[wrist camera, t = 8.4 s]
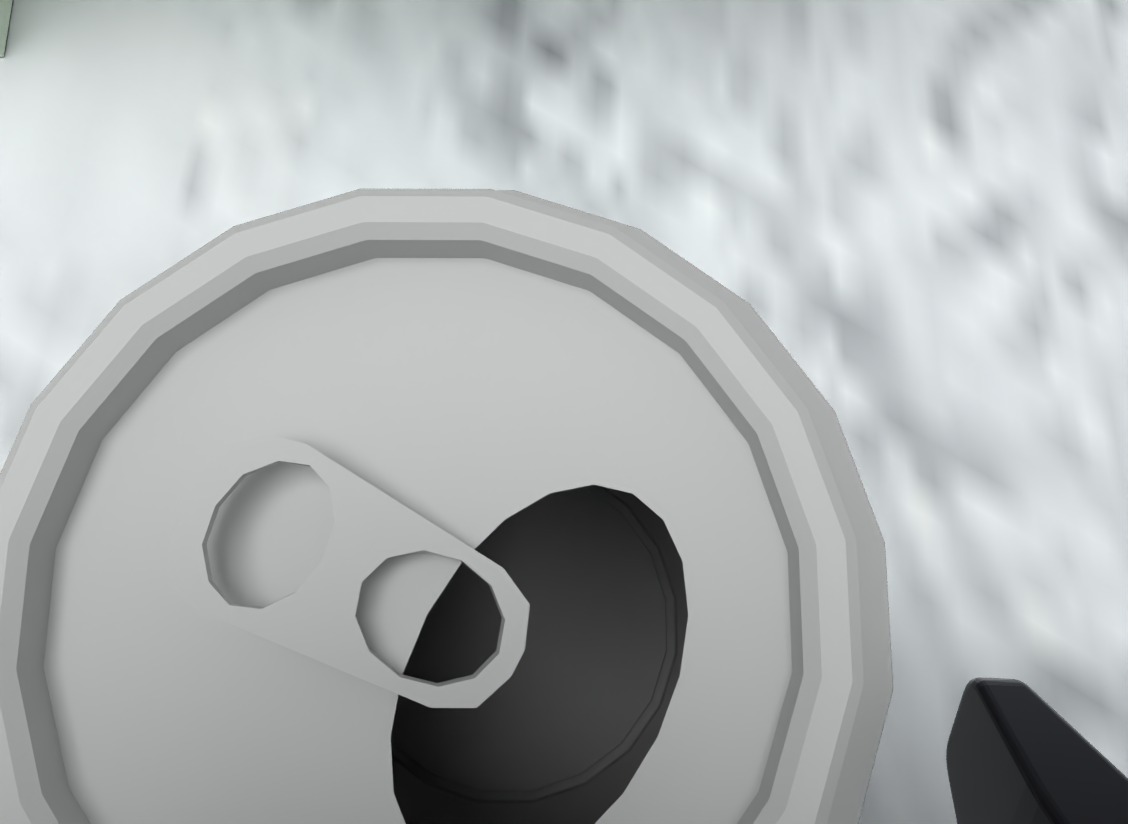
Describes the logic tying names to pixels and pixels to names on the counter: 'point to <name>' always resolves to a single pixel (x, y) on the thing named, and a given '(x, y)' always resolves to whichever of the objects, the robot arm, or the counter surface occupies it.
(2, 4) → the shelf
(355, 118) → the counter surface
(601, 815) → the can
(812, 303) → the counter surface
